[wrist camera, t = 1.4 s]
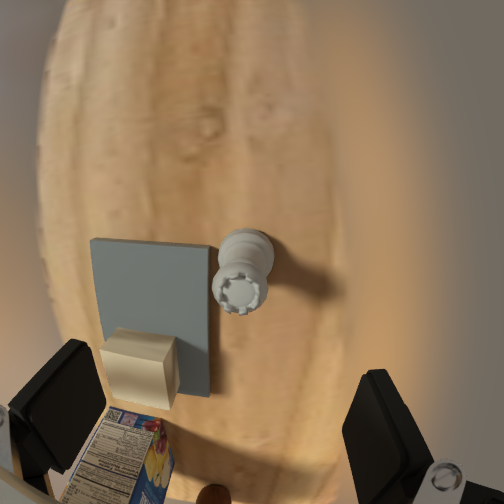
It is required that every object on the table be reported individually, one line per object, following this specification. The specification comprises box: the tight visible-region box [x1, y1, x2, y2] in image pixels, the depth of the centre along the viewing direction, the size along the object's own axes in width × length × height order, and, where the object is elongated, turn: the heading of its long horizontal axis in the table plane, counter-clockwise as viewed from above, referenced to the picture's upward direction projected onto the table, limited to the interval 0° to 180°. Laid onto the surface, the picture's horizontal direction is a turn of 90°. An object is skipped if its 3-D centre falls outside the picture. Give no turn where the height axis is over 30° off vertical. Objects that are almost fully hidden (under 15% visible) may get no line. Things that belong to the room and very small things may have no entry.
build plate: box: [90, 238, 211, 397], centre depth 25 cm, size 16×11×1 cm
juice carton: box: [59, 406, 174, 504], centre depth 20 cm, size 12×8×24 cm, turn 177°
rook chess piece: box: [212, 228, 275, 316], centre depth 19 cm, size 4×4×8 cm
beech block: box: [99, 327, 180, 410], centre depth 24 cm, size 6×6×4 cm
